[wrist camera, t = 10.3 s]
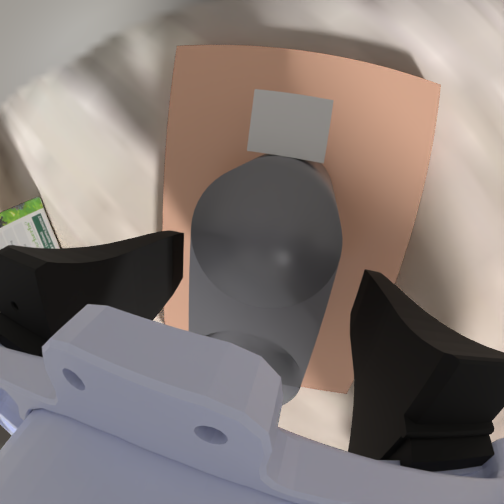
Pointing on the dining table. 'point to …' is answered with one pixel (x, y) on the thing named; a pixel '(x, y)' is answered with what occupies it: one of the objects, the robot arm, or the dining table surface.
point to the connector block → (269, 239)
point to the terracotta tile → (336, 163)
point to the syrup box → (27, 226)
